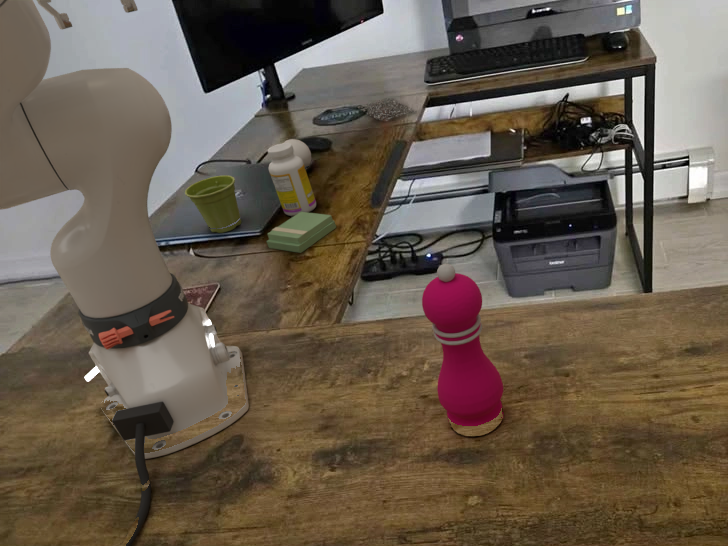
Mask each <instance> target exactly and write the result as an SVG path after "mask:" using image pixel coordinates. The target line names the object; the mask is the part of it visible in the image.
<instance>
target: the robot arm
mask: <svg viewBox="0 0 728 546" xmlns="http://www.w3.org/2000/svg"><path fill="white" fill-rule="evenodd" d="M36 1H37V4H38V5H39V6H40V7H41V8H43V9H44V10H45V11H46V12H47V13H49V15H51V16H53V18H54V20H55V22H56V24H57V26H58V28H59V29H60V30H67V29H71V28H72V27H73V24H72V22H71V21H70V18H69V15H68V14H67V13H66V12H62V13H60V12H58V11H57V10H56V9H55V8H54V7H52V5H51V4H49V3H52V0H36ZM119 1H120V4H121V5H122V8H123V11H124V12H125V13H127V14H129V13H133V12H137V11H138V6H137V3H136V1H135V0H119ZM51 52H52V41H51V35H50V32H49V29H48V27H47V25H46V23H45V21H44V19H43V17H42V15H41V13H40V11H39V9H38V8H37V6H36V4H35V2H34V0H0V210H7V209H11V208H14V207H18V206H20V205H24V204H28V203H31V202H34V201H37V200H40V199H44V198H47V197H51V196H54V195H58V194H60V193H61V194H62V193H64V192H67V191H79V192H80V193H81V195H82V196H83V202H82V205H81V207H80V208H79V209H78V211H76V213H75V214H73V216H72V217H70V219H69V220H68V221H66V223H65V224H63V226H62V227H61V228H60V229H59V230H58V231H57V233H56V234H55V236H54V238H53V240H52V242H51V246H50V250H49V251H50V253H49V254H50V260H51V264H52V267H54V269H55V270H56V273H57V274H58V276H59V278H60V279H61V281H62V282H63V284H64V286H65V287H66V290H68V292H69V294H70V296H71V297H72V299H73V301H74V302H75V304H76V306H77V308H78V311H77V313H78V316H79V318H80V320H81V324H82V325H83V327H84V329H85V331H86V333H88V334H89V336H90V338H91V340H92V342H93V343H92V345H91V347H90V350H89V351H88V355H89V357H90V358H91V360H92V362H93V363H94V365H95V367H93V368H92V369H91V370H90V371H89V372H88V373H87V374H86V375H85V376H84V379H85V381H86V382H90V381H92V379H93V378H95V377H96V375H97V374H99V373H100V375H101V377H102V379H103V380H104V381H105V383H106V385H107V386H106V387H104V393H105V394H106V397H105V398H104V399H103V400H104V403H105V401H106V400H107V401H109V400H110V402H111V401H113V403H111V404H109V405H108V406H107V407H106V410H110V409H113V408H115V407H116V406H117V405H118V403H119V404H123V406H124V408H126V409H123V410H118V411H116V413H115V415H114V417H113V419H112V422H111V421H110V419H109V418H108V417H107V415H106V414H105V413H104V411H103V410H102V408H101V407H100V409H101V410H102V411H101V412H102V413H103V414H104V416H105V417H106V418H107V420H108V421H109V423H110V424H111V426H112V427H113V428H114V430H115V431H116V432H117V434H118V435H119V436H120V438H121V439H122V441H123V442H124V443H125V444H126V446H127V447H128V448H129V450H130V451H131V453H132V454H133V455H134V459H135V467H136V470H137V475H138V477H139V481H140V485H141V484H142V485H144V484H145V483H147V481H148V480H149V477H150V474H149V471H148V467H147V463H146V460H149V459H154V458H159V457H162V456H166V455H169V454H172V453H175V452H178V451H180V450H183V449H185V448H188V447H190V446H193V445H195V444H197V443H199V442H201V441H203V440H206V439H208V438H209V437H212V436H214V435H215V434H217V433H220V432H221V431H223V430H224V429H226V428H227V427H229V426H231V425H232V424H234V423H235V422H236V421H238V420H239V419H240V418H241V417H242V416H244V414H246V412H248V410H249V407H250V405H249V396H248V395H249V394H248V388H247V380H246V379H247V378H246V374H245V364H244V357H243V356H244V355H243V352H242V350H241V349H240V347H239V346H236V345H226V344H225V343H223V342H221V340H220V338H219V336H218V335H217V334H218V330H217V327H216V325H215V324H214V323H212V321H211V319H210V318H209V316H208V315H207V312H206V310H205V308H204V307H201V306H198V305H196V304H195V305H194V304H192V303H190V302H189V301H188V298H187V296H186V294H185V291H184V287H183V286H182V284H181V283H180V282H179V280H178V279H177V277H176V276H175V275H174V274H173V273H172V272H170V270H169V268H168V266H167V264H166V262H165V259H164V256H163V255H162V253H161V250H160V248H159V245H158V242H157V240H156V237H155V235H154V231H153V229H152V226H151V222H150V218H149V210H148V208H149V207H148V197H149V191H150V186H151V182H152V179H153V176H154V174H155V171H156V169H157V167H158V165H159V164H160V162H161V160H162V159H163V158H164V156H165V155H166V153H167V151H168V149H169V147H170V144H171V140H172V134H173V133H172V132H173V130H172V118H171V115H170V111H169V108H168V106H167V104H166V101H165V100H164V98H163V96H162V95H161V94H160V92H159V91H158V89H157V88H156V87H155V86H154V85H153V84H152V83H151V82H150V81H149V80H148V79H146V78H145V77H144V76H142V75H141V74H140V73H138V72H137V71H135V70H132V68H131V69H130V68H129V67H111V68H109V67H108V68H107V67H105V68H92V69H88V68H87V69H81V70H76V71H71V72H67V73H64V74H60V75H55V76H52V77H48V78H45V75H46V74H47V70H48V67H49V64H50V60H51ZM231 352H232V353H231ZM240 357H241V359H240ZM240 362H241V365H242V373H243V382H244V390H245V399H246V403H245V405H244V406H243V407H242V408H241V409H240V410H239V411H238V412H237V413H236V414H234V415H233V416H232V417H230V416H231V414H232V412H231V411H225V412H222V413H221V414H220V415H219V417H218V418H219V419H226V418H228V417H230V418H229V419H227V420H226V421H224V422H223V423H221V424H219V425H218V426H216V427H214V428H212V429H210V430H208V431H206V432H204V433H202V434H200V435H198V436H196V437H194V438H192V439H189V440H187V441H185V442H182V443H180V444H177V445H174V446H172V447H169V448H166V449H162V450H159V451H155V452H150V453H144V443H145V437H147V438H148V439H157V438H161V437H164V436H167V435H170V434H173V433H176V432H178V431H181V430H183V429H186V428H188V427H190V426H192V425H194V424H196V423H198V422H200V421H202V420H204V419H206V418H208V417H210V416H212V415H214V414H215V413H217V412H218V411H221V410H222V409H223V408H225V407H226V405H227V404H228V396H227V386H226V380H227V372H229V373H231V368H235V369H236V366H237V367H240ZM234 387H238V385H235V386H234ZM237 396H239V395H237ZM103 400H102V401H101V403H102V402H103ZM114 401H117V402H114ZM113 424H114V425H113ZM131 439H135V452H134V451H133V450H132V449H131V448H130V446H129V445H128V444H127V442H126V440H131ZM165 445H166V441H165V440H161V441H158V442H156V443H155V444H154V445H153V447H152V449H154V450H158V449H161V448H162V447H164V446H165ZM140 489H141V490H140V504H139V507H138V511H137V514H136V516H135V518H134V520H133V522H134V521H135V519H136V518H137V517H139V520H138V525H137V528H136V530H135V532H134V534H133V536H132V537H131V539H130V540H129V542H128V543H127V544H126V546H132V545H133V544H134V542H135V541H136V539H137V538H138V535H139V534H140V531H141V530H142V527H143V525H144V523H145V521H146V519H147V516H148V514H149V510H150V507H151V499H152V482H151V481H150V484H149V486H148V488H147V489H146V490H145V491H142V488H140ZM126 536H127V534H126ZM126 536H125V537H126Z"/></svg>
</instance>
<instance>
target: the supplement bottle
mask: <svg viewBox="0 0 728 546" xmlns="http://www.w3.org/2000/svg"><path fill="white" fill-rule="evenodd" d="M293 152H294V149H293V147H292V144H291V143H284V142H282V143H277V144H274V145H272V146H270V147H269V148H268V149H267V154H268V158H270V159H271V161H270V163H269V164H268V172H269V175H270V178H271V180H272V183H273V186H274V189H275V191H276V195H277V197H278V200H279V203H280V205H281V208H282V211H283V213H284V214H285V215H286V216H290V217H294V216H295V215H297V214H298V213H300V212H308V213H311V212H312V211H314V209H315V208H316V207H317V201H316V198H315V195H314V191H313V188H312V185H311V182H310V179H309V176H308V173H307V169H306V170H305V167H304V163H303V161H302V159H301V158H300V157H298V156H295V155H294V153H293Z"/></svg>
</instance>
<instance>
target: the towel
mask: <svg viewBox="0 0 728 546" xmlns="http://www.w3.org/2000/svg"><path fill="white" fill-rule="evenodd" d="M335 229H337V225H336V221H335V220H334V219H333V216H332V215H331V214H324V213H315V212H300V213H298V214H297V215H295V216H291V218H289V219H287V220H286V221H284V222H283V223H281V224H280V225H278V226H275V227H274V228H272V229H271V231H270V232H267V237H268V240H266V244H267V247H268V249H274V250H280V251H284V252H285V251H286V252H291V253H299V254H302V253H303V252H305V251H307V249H309V248H310V247H312V246H313V245H315V244H316V243H317V242H318V241H320V240H321V239H323V238H324V237H325V236H327V235H328V234H330V233H331V232H332V231H334V230H335Z"/></svg>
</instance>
